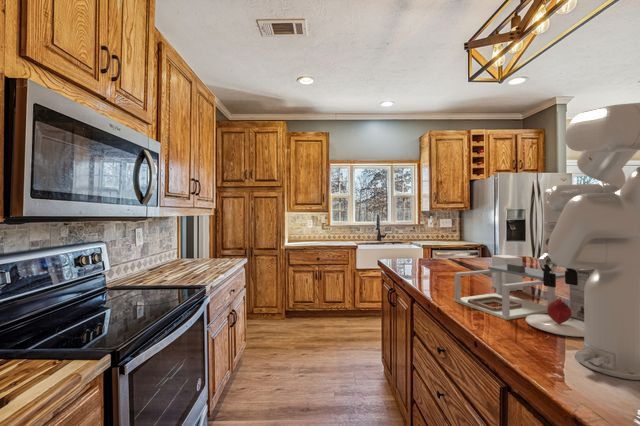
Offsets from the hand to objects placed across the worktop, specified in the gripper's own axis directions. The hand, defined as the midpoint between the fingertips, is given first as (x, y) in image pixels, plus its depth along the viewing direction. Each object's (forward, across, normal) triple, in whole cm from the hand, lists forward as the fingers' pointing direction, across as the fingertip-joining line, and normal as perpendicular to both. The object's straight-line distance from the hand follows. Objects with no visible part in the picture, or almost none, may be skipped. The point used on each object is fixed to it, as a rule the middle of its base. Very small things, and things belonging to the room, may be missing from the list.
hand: (560, 285), depth 94 cm
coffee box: (+13, +19, +3) cm, 23 cm away
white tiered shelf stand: (+12, +4, +23) cm, 27 cm away
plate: (+13, +1, +1) cm, 13 cm away
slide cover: (0, +16, +23) cm, 28 cm away
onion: (+12, +1, +1) cm, 12 cm away
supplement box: (+11, +29, +41) cm, 52 cm away
